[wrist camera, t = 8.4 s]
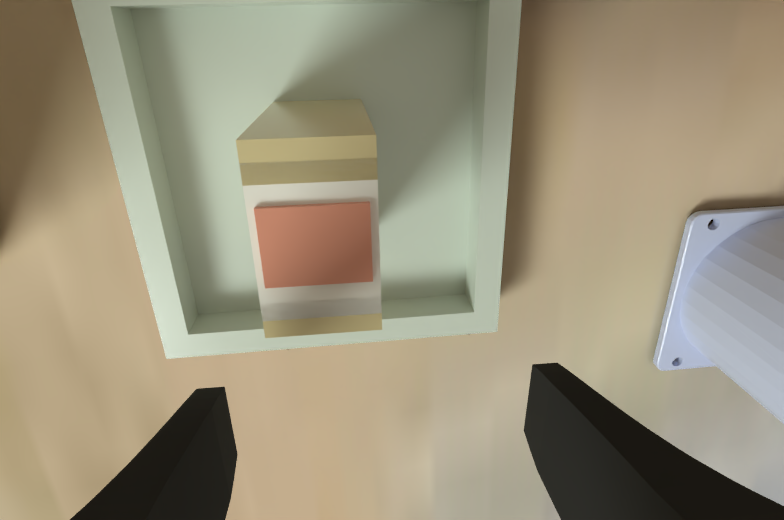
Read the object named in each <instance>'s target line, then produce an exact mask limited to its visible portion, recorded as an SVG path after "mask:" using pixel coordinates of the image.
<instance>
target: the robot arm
mask: <svg viewBox="0 0 784 520" xmlns="http://www.w3.org/2000/svg"><path fill="white" fill-rule="evenodd" d="M712 219H713V222H712V224H711V225H710V226H708V223H709V222H710V221H711V220H712ZM675 358H676V359H675ZM674 359H675V360H674ZM673 360H674V361H673ZM653 363H654V364H655V366H656V367H657V368H658V369H660V370H663V371H666V370H677V369H688V368H699V367H710V366H717V367H718V368H719V369H720V370H722V371H723V372H724V373H725V374H726V375H727V376H728V377H730V378H731V379H732V380H733V381H734V382H735V383H737V384H738V385H739V386H740V387H741V388H742V389H744V390H745V391H746V392H747V393H748V394H749V395H751V396H752V397H753V398H754V399H755V400H756V401H758V402H759V403H760V404H761V405H762V406H763V407H765V408H766V409H767V410H768V411H769V412H770V413H772V414H773V415H774V416H775V417H776V418H777V419H779V420H780V421H781V422H782V423H783V424H784V206H773V207H757V208H741V209H725V210H710V211H698V212H695V213H693V214H692V215H691V216H690V217H689V218H688V219H687V222H686V224H685V229H684V233H683V237H682V241H681V245H680V250H679V254H678V258H677V262H676V266H675V271H674V275H673V279H672V283H671V287H670V292H669V296H668V300H667V304H666V308H665V313H664V317H663V321H662V325H661V329H660V334H659V338H658V342H657V346H656V350H655V355H654V359H653ZM524 432H525V435H526V438H527V441H528V444H529V448H530V451H531V454H532V456H533V459H534V462H535V465H536V468H537V470H538V473H539V475H540V477H541V479H542V481H543V483H544V485H545V487H546V489H547V492H548V494H549V496H550V498H551V500H552V502H553V504H554V506H555V508H556V510H557V512H558V514H559V516H560V518H561V520H784V506H782V505H780V504H778V503H776V502H774V501H772V500H770V499H768V498H766V497H764V496H762V495H760V494H758V493H756V492H754V491H752V490H750V489H748V488H746V487H744V486H742V485H740V484H738V483H737V482H735V481H733V480H731V479H729V478H727V477H726V476H724V475H722V474H720V473H719V472H717V471H715V470H713V469H712V468H710V467H708V466H706V465H705V464H703V463H701V462H699V461H698V460H696V459H694V458H693V457H691V456H689V455H688V454H686V453H684V452H683V451H681V450H679V449H678V448H676V447H675V446H673V445H672V444H670V443H669V442H667V441H666V440H664V439H663V438H661V437H660V436H658V435H656V434H655V433H653V432H652V431H650V430H649V429H647V428H646V427H645V426H643V425H642V424H640V423H639V422H637V421H636V420H634V419H633V418H632V417H630V416H629V415H627V414H626V413H625V412H623V411H622V410H620V409H619V408H618V407H616V406H615V405H614V404H612V403H611V402H610V401H608V400H607V399H606V398H604V397H603V396H602V395H600V394H599V393H598V392H596V391H595V390H594V389H592V388H591V387H590V386H588V385H587V384H586V383H584V382H583V381H582V380H580V379H579V378H578V377H576V376H575V375H574V374H572V373H571V372H570V371H568V370H567V369H565V368H564V367H563V366H561V365H560V364H558V363H547V364H533V365H532V372H531V380H530V388H529V395H528V403H527V411H526V418H525V426H524ZM236 461H237V450H236V445H235V439H234V434H233V429H232V424H231V418H230V413H229V408H228V403H227V398H226V392H225V387H215V388H202V389H196V390H195V391H194V392H193V393H192V395H191V396H190V397H189V398H188V399H187V400H186V401H185V402H184V403H183V404H182V406H181V407H180V408H179V409H178V410H177V411H176V412H175V414H174V415H173V416H172V417H171V418H170V419H169V420H168V421H167V423H166V424H165V425H164V426H163V427H162V428H161V429H160V430H159V431H158V433H157V434H156V435H155V436H154V437H153V438H152V439H151V440H150V441H149V442H148V443H147V444H146V446H145V447H144V448H143V449H142V450H141V451H140V452H139V453H138V454H137V455H136V456H135V457H134V458H133V459H132V460H131V462H130V463H129V464H128V465H127V466H126V467H125V468H124V469H123V470H122V471H121V472H120V473H119V474H118V475H117V476H116V477H115V478H114V479H113V480H112V481H111V482H110V483H109V484H107V485H106V486H105V487H104V488H103V489H102V490H101V491H100V492H99V493H98V494H97V495H96V496H95V497H94V498H93V499H92V500H91V501H90V502H89V503H88V504H87V505H86V506H85V507H83V508H82V509H81V510H80V511H79V512H78V513H77V514H76V515H75V516H73V517H72V518H71V519H70V520H225V518H226V514H227V511H228V507H229V503H230V499H231V493H232V487H233V481H234V475H235V468H236Z"/></svg>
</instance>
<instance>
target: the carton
mask: <svg viewBox="0 0 784 520" xmlns="http://www.w3.org/2000/svg"><path fill="white" fill-rule="evenodd" d="M236 146H237V152H238V159H239V166H240V173H241V179H242V186H243V193H244V199H245V206H246V213H247V220H248V226H249V233H250V240H251V246H252V253H253V260H254V267H255V273H256V280H257V287H258V293H259V300H260V307H261V314H262V320H263V327H264V334H265V338H276V337H289V336H303V335H317V334H331V333H345V332H358V331H372V330H382V305H381V272H380V239H379V207H378V174H377V141H376V133H375V131H374V128H373V126H372V124H371V121H370V119H369V116H368V114H367V112H366V109H365V107H364V105H363V102H362V100H361V99H341V100H308V101H275V102H273V103H272V104H271V105H270V106H269V107H268V108H267V109H266V110H265V111H264V112H263V113H262V114H261V115H260V116H259V117H258V118H257V119H256V120H255V121H254V122H253V123H252V124H251V125H250V126H249V127H248V128H247V129H246V130H245V131H244V132H243V133H242V134H241V135H240V136H239V137H238V138H237V139H236Z"/></svg>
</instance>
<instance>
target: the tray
mask: <svg viewBox="0 0 784 520" xmlns="http://www.w3.org/2000/svg"><path fill="white" fill-rule="evenodd" d="M71 1H72V5H73V8H74V12H75V16H76V20H77V24H78V27H79V31H80V35H81V39H82V42H83V46H84V50H85V54H86V57H87V61H88V65H89V69H90V72H91V76H92V80H93V84H94V88H95V91H96V95H97V99H98V103H99V106H100V110H101V114H102V118H103V121H104V125H105V129H106V133H107V137H108V140H109V144H110V148H111V152H112V155H113V159H114V163H115V167H116V170H117V174H118V178H119V182H120V186H121V189H122V193H123V197H124V201H125V204H126V208H127V212H128V216H129V219H130V223H131V227H132V231H133V235H134V238H135V242H136V246H137V250H138V253H139V257H140V261H141V265H142V268H143V272H144V276H145V280H146V283H147V287H148V291H149V295H150V299H151V302H152V306H153V310H154V314H155V317H156V321H157V325H158V329H159V332H160V336H161V340H162V344H163V348H164V351H165V355H166V359H170V358H183V357H195V356H207V355H219V354H231V353H243V352H256V351H268V350H280V349H292V348H304V347H317V346H329V345H341V344H353V343H365V342H377V341H390V340H402V339H414V338H426V337H438V336H451V335H463V334H475V333H487V332H497V327H498V314H499V301H500V287H501V274H502V260H503V247H504V233H505V220H506V207H507V193H508V180H509V166H510V153H511V140H512V126H513V113H514V99H515V86H516V72H517V59H518V46H519V32H520V19H521V5H522V0H71ZM341 99H361V100H362V102H363V105H364V107H365V109H366V112H367V114H368V116H369V119H370V121H371V124H372V126H373V128H374V131H375V133H376V141H377V174H378V207H379V239H380V272H381V305H382V330H372V331H358V332H345V333H331V334H317V335H303V336H289V337H276V338H265V334H264V327H263V320H262V314H261V307H260V300H259V293H258V287H257V280H256V273H255V267H254V260H253V253H252V246H251V240H250V233H249V226H248V220H247V213H246V206H245V199H244V193H243V186H242V179H241V173H240V166H239V159H238V152H237V146H236V139H237V138H238V137H239V136H240V135H241V134H242V133H243V132H244V131H245V130H246V129H247V128H248V127H249V126H250V125H251V124H252V123H253V122H254V121H255V120H256V119H257V118H258V117H259V116H260V115H261V114H262V113H263V112H264V111H265V110H266V109H267V108H268V107H269V106H270V105H271V104H272V103H273V102H275V101H308V100H341Z"/></svg>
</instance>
